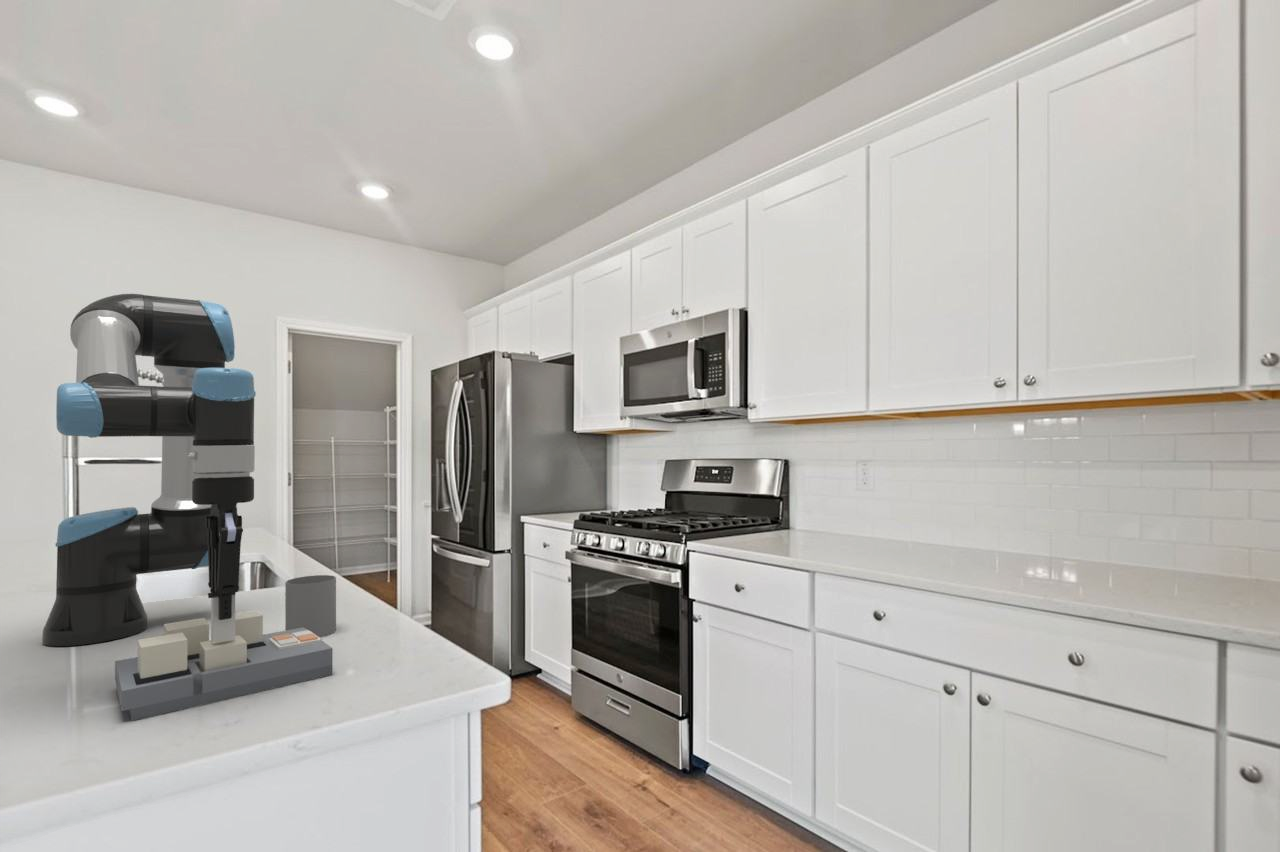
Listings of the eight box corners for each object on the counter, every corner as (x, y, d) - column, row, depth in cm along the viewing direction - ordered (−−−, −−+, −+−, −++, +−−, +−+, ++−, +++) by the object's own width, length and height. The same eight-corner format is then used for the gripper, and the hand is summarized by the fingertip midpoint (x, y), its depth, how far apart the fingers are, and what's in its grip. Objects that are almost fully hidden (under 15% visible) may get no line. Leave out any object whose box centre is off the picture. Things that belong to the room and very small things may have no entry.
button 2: (163, 651, 96) (163, 624, 96) (203, 644, 100) (203, 617, 100) (167, 659, 93) (167, 630, 93) (208, 651, 96) (209, 624, 96)
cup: (314, 641, 116) (314, 584, 117) (275, 639, 118) (275, 583, 118) (345, 628, 125) (345, 575, 125) (307, 626, 126) (307, 574, 126)
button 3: (199, 670, 93) (199, 642, 93) (239, 662, 96) (239, 635, 96) (204, 679, 89) (204, 650, 89) (246, 670, 92) (246, 642, 93)
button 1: (137, 669, 88) (137, 639, 88) (182, 660, 92) (182, 632, 92) (140, 678, 85) (141, 647, 85) (187, 669, 88) (187, 639, 88)
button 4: (219, 641, 101) (219, 615, 101) (255, 634, 104) (255, 609, 104) (224, 648, 97) (225, 621, 97) (262, 641, 100) (262, 615, 101)
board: (114, 689, 94) (115, 656, 94) (303, 651, 110) (303, 623, 110) (121, 723, 82) (122, 685, 82) (332, 674, 98) (332, 643, 98)
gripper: (186, 475, 96) (185, 637, 95) (199, 477, 86) (198, 657, 85) (244, 473, 101) (244, 627, 100) (263, 475, 91) (263, 645, 90)
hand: (223, 640), depth 93 cm, fingers closed
